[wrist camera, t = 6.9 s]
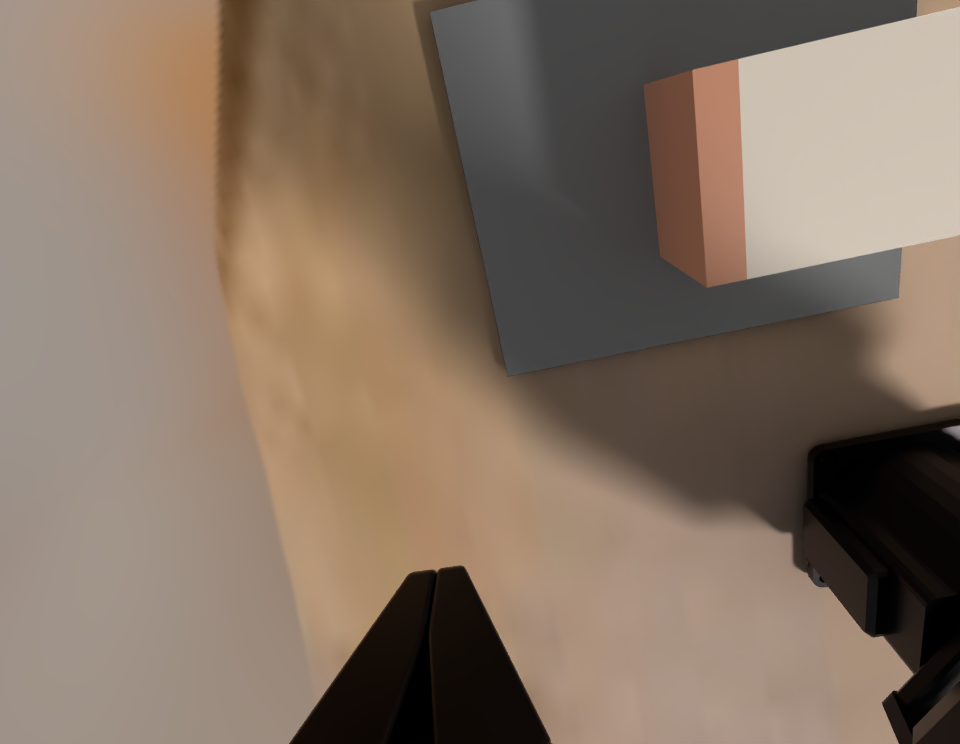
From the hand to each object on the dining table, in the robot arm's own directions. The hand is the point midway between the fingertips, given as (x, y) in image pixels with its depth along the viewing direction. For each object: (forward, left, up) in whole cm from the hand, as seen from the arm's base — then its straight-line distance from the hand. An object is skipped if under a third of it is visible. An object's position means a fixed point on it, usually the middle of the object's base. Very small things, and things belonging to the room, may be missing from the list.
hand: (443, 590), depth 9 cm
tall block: (-7, -4, -9) cm, 12 cm away
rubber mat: (-8, -4, -12) cm, 15 cm away
